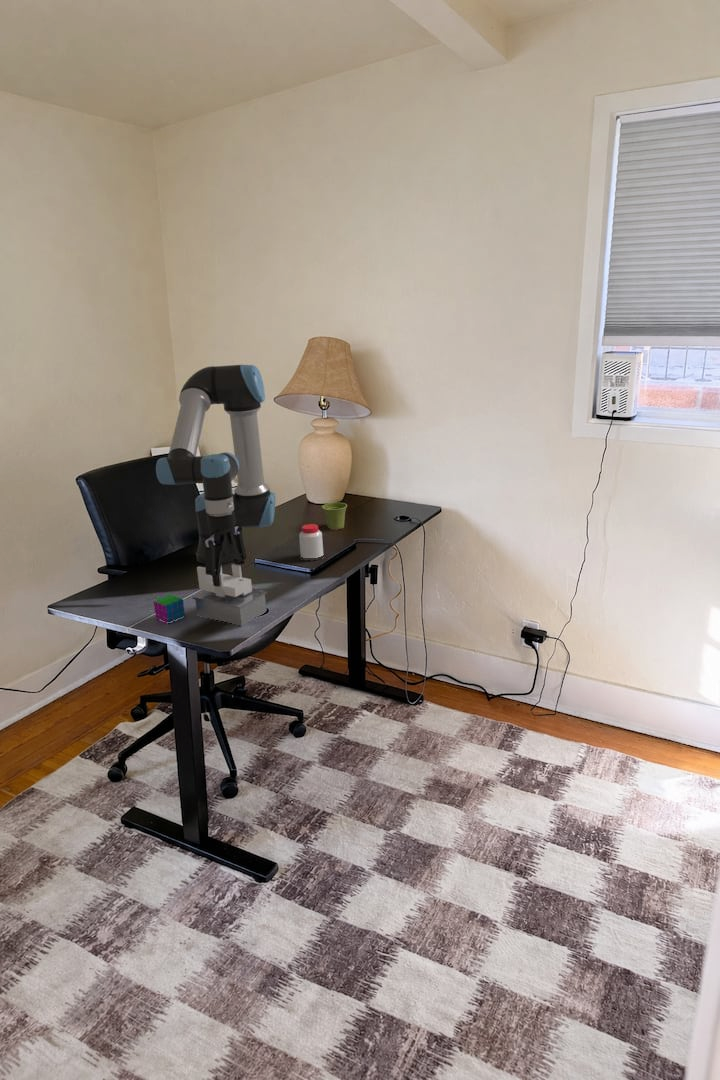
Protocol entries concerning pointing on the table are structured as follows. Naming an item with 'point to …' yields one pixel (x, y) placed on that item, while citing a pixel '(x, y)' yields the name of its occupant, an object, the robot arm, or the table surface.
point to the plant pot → (335, 515)
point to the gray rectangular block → (231, 606)
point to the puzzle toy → (169, 608)
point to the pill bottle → (311, 541)
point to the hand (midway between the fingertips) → (229, 590)
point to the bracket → (231, 583)
